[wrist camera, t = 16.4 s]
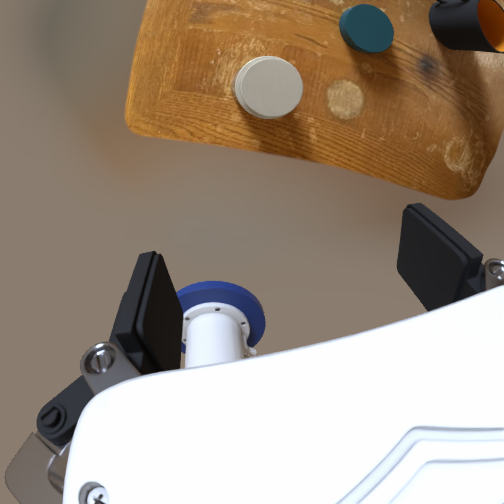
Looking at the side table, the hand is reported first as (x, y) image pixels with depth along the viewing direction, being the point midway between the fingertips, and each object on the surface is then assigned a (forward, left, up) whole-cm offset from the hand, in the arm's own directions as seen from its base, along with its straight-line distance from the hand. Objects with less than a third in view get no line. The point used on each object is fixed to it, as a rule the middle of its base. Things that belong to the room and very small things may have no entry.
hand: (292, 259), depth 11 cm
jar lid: (-2, -22, -27) cm, 34 cm away
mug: (-8, -36, -28) cm, 47 cm away
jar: (+2, -6, -28) cm, 29 cm away
